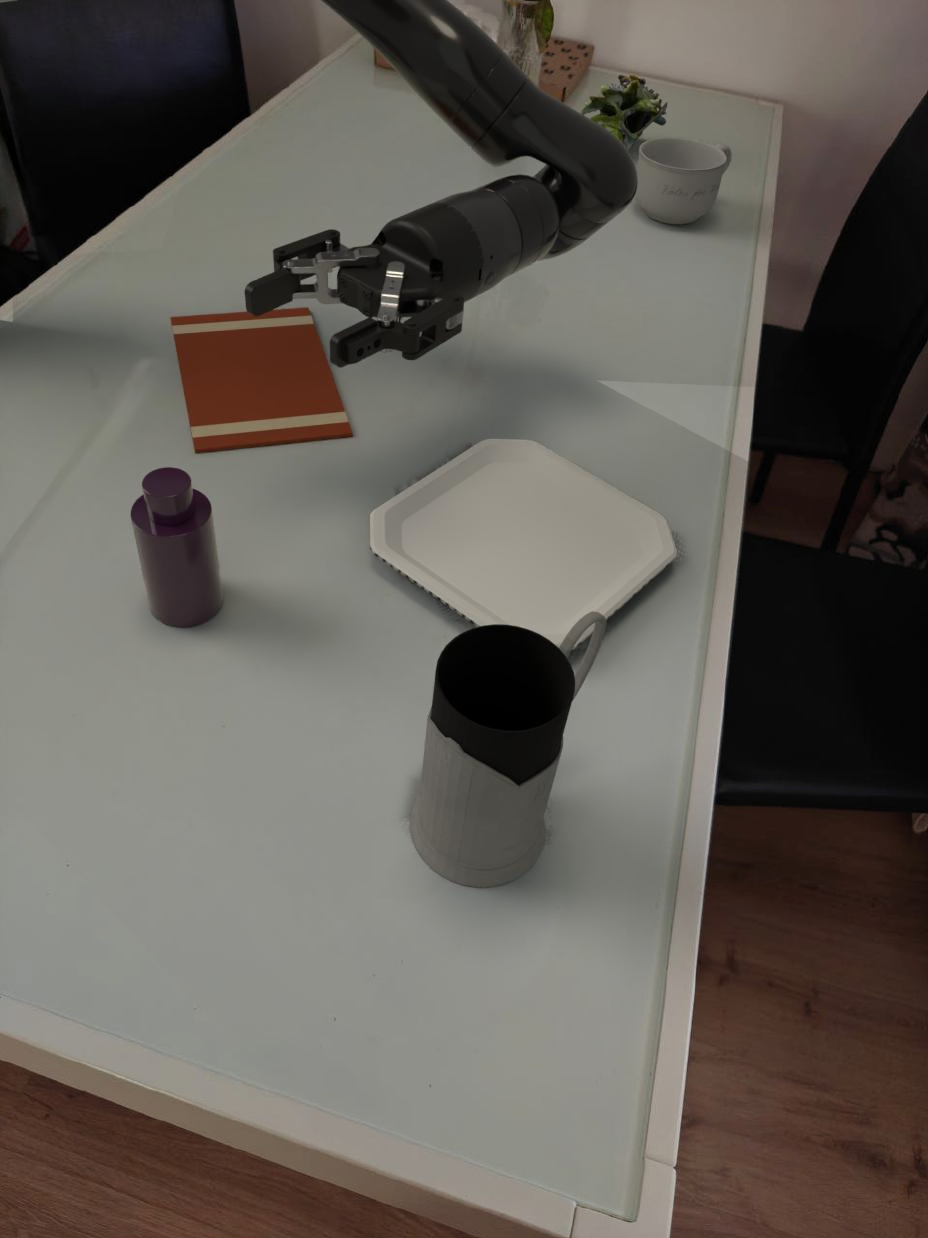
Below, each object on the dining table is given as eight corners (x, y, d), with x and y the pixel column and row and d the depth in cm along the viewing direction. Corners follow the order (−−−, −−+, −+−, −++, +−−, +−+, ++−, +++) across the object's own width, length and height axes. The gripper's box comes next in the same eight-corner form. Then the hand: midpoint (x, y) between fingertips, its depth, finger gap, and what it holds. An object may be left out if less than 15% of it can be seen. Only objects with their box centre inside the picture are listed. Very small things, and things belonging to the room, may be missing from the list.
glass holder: (381, 825, 63) (389, 674, 52) (522, 702, 71) (554, 548, 60) (484, 915, 59) (516, 773, 49) (621, 775, 67) (675, 626, 56)
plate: (342, 547, 80) (342, 527, 78) (503, 442, 91) (506, 422, 90) (542, 689, 72) (547, 669, 70) (692, 553, 83) (699, 534, 82)
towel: (171, 320, 100) (170, 316, 100) (308, 310, 104) (308, 306, 104) (195, 453, 87) (194, 449, 86) (352, 436, 90) (352, 432, 90)
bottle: (137, 620, 73) (111, 500, 65) (165, 570, 77) (143, 450, 68) (209, 633, 73) (191, 514, 64) (232, 582, 76) (219, 464, 68)
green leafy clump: (612, 177, 147) (671, 106, 142) (627, 195, 138) (690, 121, 133) (556, 125, 142) (615, 50, 137) (568, 140, 133) (631, 61, 128)
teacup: (655, 237, 123) (670, 172, 117) (611, 199, 129) (624, 135, 123) (746, 225, 127) (765, 162, 121) (700, 188, 134) (716, 127, 128)
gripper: (384, 171, 76) (216, 235, 67) (527, 240, 70) (364, 319, 61) (382, 263, 82) (226, 333, 73) (515, 334, 76) (363, 419, 67)
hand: (290, 327), depth 67 cm, fingers open, 8 cm apart
